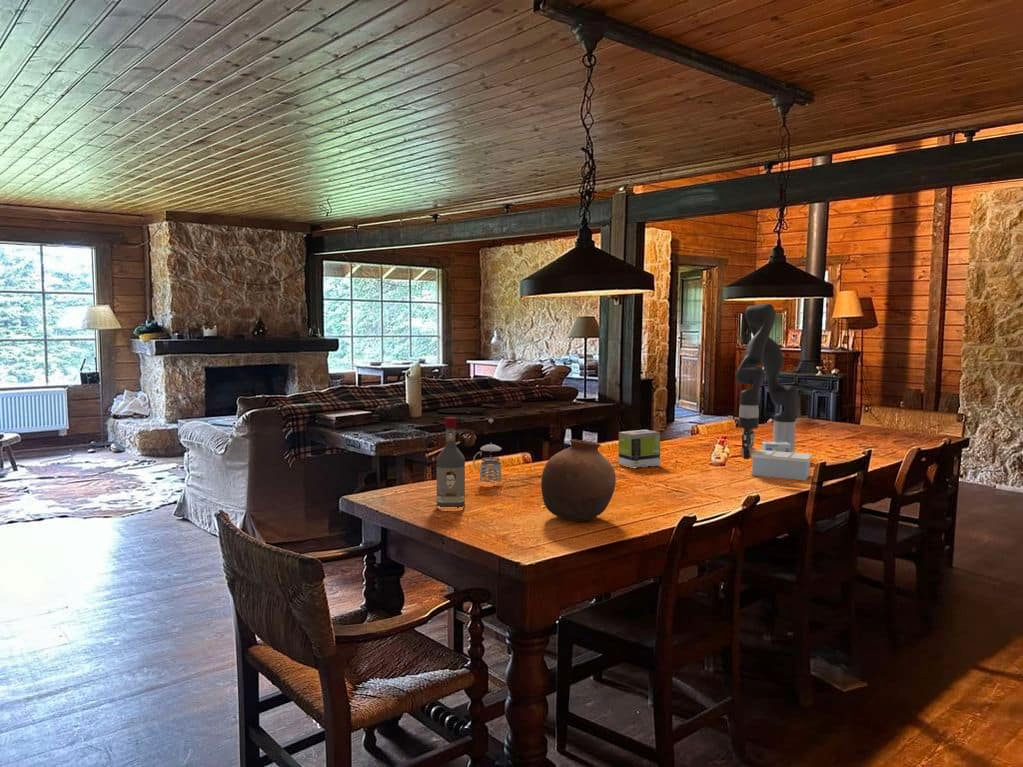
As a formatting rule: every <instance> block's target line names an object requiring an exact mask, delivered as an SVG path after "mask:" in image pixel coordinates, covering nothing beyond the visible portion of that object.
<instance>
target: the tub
mask: <svg viewBox="0 0 1023 767" xmlns="http://www.w3.org/2000/svg"><path fill="white" fill-rule="evenodd" d="M751 469H752V473H751V475H752V476H755V477H756V476H758V477H767V478H774V479H775V478H777V479H787V480H788V479H789V480H795V481H796V480H797V481H798V480H799V481H807V479H809V477H810V476H811V475H810V474H811V473H810V472H811V470H810V469H811V459H810V460H809V462H800V461H788V460H776V459H765V458H753V457H752V468H751Z"/></svg>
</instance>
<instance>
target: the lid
mask: <svg viewBox="0 0 1023 767" xmlns="http://www.w3.org/2000/svg"><path fill="white" fill-rule="evenodd" d="M739 454H740V456H743V455H744V450H743V449H742V447H740V449H739ZM749 456H751V457H750V458H752V459H753V458H765V459H776V460H788V461H800V462H809V460H810V461H811V459H812V457H813V454H812V453H801V452H795V453H794V452H792V453H791V452H778V451H776V450H774V451H766V450H762V449H756V448H755V447H752V448H750V453H749Z"/></svg>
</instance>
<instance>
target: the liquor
mask: <svg viewBox="0 0 1023 767" xmlns="http://www.w3.org/2000/svg"><path fill="white" fill-rule="evenodd" d="M444 428H445V445H444V448H443V449H442V450H441V451H440V452H439V453H438V455H437V458H436V507H437V506H440V507H457V508H459V507H463V506H465V507H466V491H465V490H466V485H465V484H466V470H465V469H466V462H465V461H466V460H465V459H466V458H465V456H464V454H463V453H462V452H461V450H460V449H459V448H458V447H457V443H456V428H457V417H455V416H447V417H444Z"/></svg>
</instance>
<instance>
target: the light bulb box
mask: <svg viewBox="0 0 1023 767" xmlns="http://www.w3.org/2000/svg"><path fill="white" fill-rule="evenodd" d="M761 450H766V451H774V450H776V451H778V452H791V444H789V443H788V442H773V441H761Z"/></svg>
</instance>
